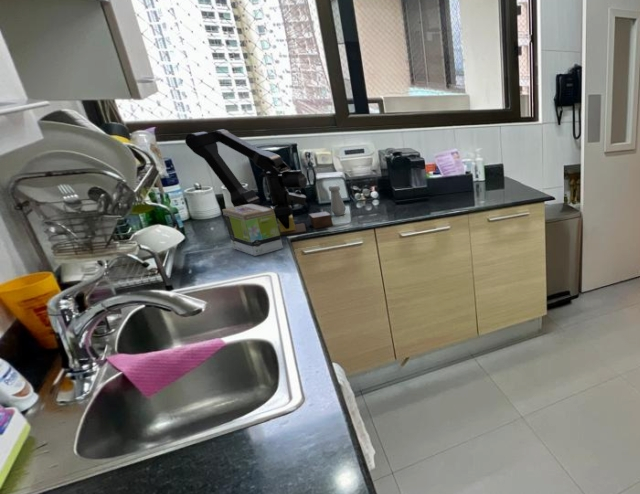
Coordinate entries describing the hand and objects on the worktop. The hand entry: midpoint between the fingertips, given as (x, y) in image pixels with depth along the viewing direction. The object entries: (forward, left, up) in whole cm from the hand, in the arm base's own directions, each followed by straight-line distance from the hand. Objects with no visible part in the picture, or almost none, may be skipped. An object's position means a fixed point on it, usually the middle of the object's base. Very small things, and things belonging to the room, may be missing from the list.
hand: (287, 226), depth 184 cm
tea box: (-10, -18, -2) cm, 21 cm away
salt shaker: (+20, +14, -2) cm, 24 cm away
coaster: (0, 0, -2) cm, 2 cm away
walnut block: (+12, +1, -2) cm, 12 cm away
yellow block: (0, 0, -1) cm, 1 cm away
